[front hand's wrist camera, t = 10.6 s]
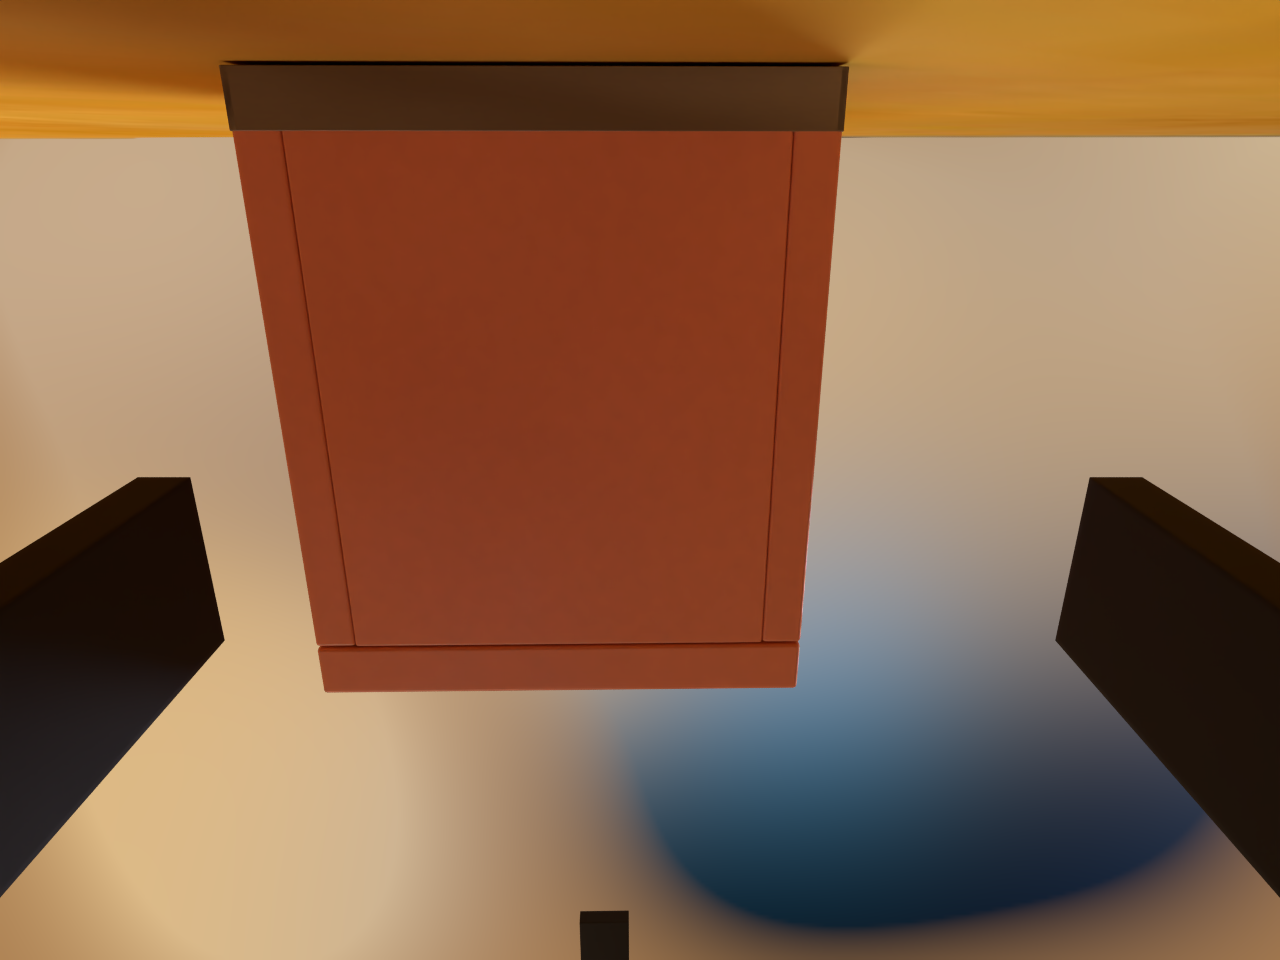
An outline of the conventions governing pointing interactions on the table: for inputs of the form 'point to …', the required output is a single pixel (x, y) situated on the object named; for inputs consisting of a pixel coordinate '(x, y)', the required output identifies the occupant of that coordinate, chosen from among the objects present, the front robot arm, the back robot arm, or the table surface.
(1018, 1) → the table surface
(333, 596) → the chest
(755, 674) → the lid
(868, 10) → the table surface
